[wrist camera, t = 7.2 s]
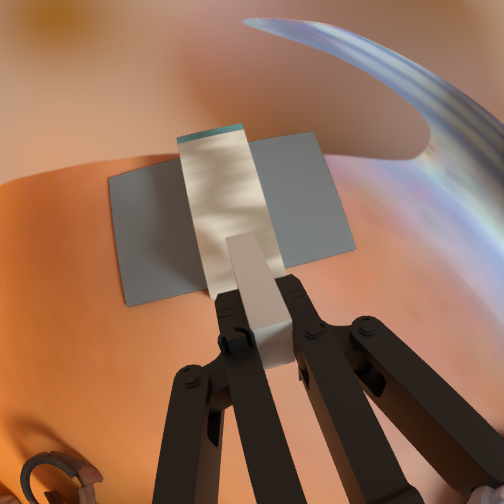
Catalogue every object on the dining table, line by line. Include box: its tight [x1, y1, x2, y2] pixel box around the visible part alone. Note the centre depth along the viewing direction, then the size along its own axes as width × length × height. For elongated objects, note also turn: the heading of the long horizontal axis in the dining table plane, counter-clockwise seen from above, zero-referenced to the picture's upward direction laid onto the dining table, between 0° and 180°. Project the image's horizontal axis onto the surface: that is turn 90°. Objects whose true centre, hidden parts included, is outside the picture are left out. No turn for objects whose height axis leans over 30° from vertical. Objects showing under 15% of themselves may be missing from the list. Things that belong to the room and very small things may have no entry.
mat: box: [109, 131, 356, 307], centre depth 25 cm, size 20×12×1 cm, turn 105°
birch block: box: [177, 123, 287, 300], centre depth 22 cm, size 5×5×12 cm
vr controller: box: [20, 451, 103, 504], centre depth 17 cm, size 12×10×8 cm
